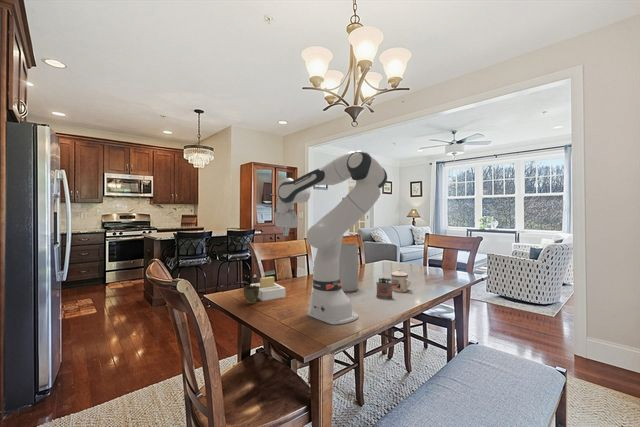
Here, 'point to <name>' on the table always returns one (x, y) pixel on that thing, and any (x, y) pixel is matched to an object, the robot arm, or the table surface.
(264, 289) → the rack
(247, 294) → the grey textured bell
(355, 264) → the cylinder vase
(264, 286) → the panel
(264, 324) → the table surface
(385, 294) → the lighter
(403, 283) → the teacup with lid
